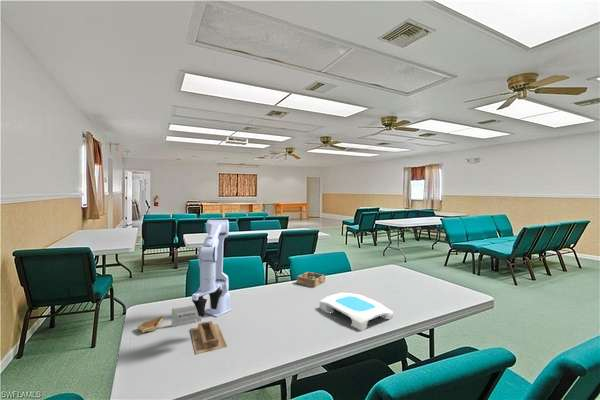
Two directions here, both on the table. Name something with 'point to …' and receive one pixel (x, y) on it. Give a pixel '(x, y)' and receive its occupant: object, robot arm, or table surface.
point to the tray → (207, 337)
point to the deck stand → (310, 279)
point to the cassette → (185, 319)
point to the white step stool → (355, 308)
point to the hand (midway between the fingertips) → (207, 312)
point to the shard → (149, 325)
